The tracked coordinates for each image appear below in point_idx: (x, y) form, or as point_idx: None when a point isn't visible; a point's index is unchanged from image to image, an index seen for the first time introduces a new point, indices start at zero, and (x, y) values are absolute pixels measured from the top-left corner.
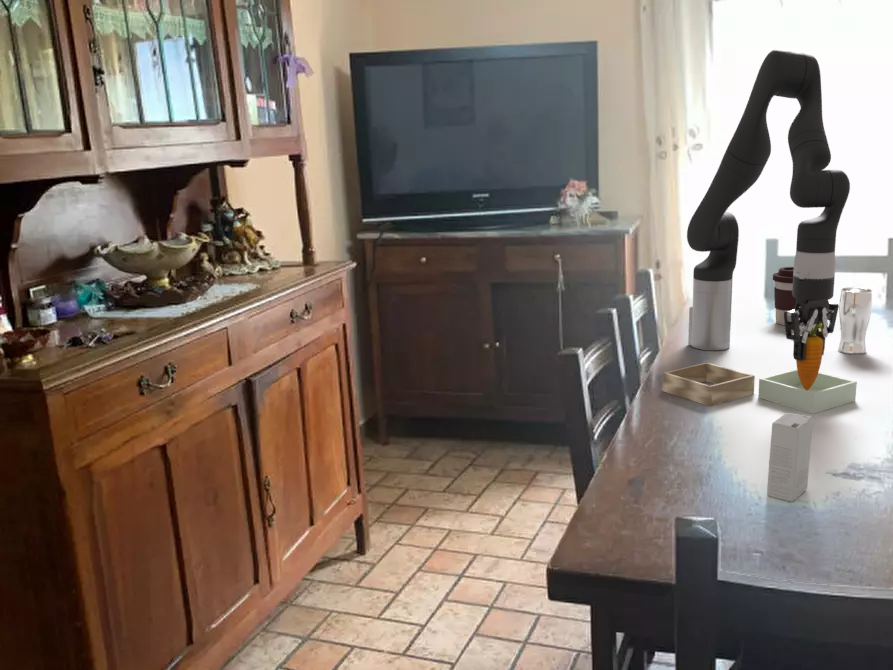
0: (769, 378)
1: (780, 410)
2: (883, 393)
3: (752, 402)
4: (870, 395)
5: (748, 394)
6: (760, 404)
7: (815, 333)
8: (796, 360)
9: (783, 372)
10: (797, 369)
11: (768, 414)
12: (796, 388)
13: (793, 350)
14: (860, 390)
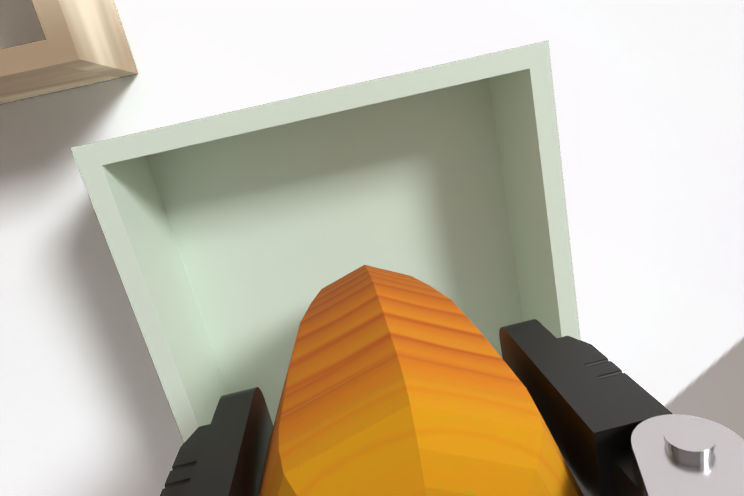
0: (170, 149)
1: (121, 366)
2: (735, 335)
3: (46, 203)
4: (664, 337)
5: (85, 83)
6: (72, 250)
7: (641, 492)
8: (299, 327)
9: (345, 87)
10: (313, 300)
11: (26, 394)
12: (187, 426)
13: (166, 481)
14: (693, 259)
